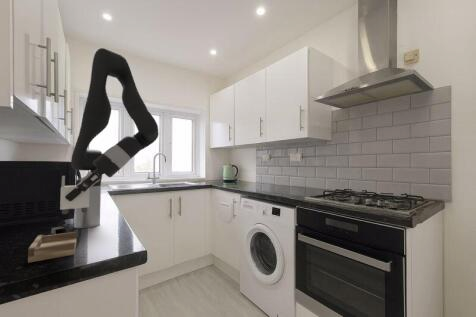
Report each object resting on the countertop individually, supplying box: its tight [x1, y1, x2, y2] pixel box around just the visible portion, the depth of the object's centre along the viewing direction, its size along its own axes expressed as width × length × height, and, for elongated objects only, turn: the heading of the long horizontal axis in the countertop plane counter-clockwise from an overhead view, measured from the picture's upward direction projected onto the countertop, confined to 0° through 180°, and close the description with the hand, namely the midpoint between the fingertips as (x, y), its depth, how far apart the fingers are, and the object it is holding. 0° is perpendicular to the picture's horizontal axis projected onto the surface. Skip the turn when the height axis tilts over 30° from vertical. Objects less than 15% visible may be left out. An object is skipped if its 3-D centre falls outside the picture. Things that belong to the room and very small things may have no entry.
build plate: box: [50, 226, 67, 235], centre depth 78 cm, size 12×7×5 cm, turn 57°
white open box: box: [59, 175, 90, 215], centre depth 71 cm, size 5×7×12 cm
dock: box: [27, 231, 78, 264], centre depth 68 cm, size 14×10×4 cm
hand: (68, 198), depth 70 cm, fingers closed on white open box, 5 cm apart
